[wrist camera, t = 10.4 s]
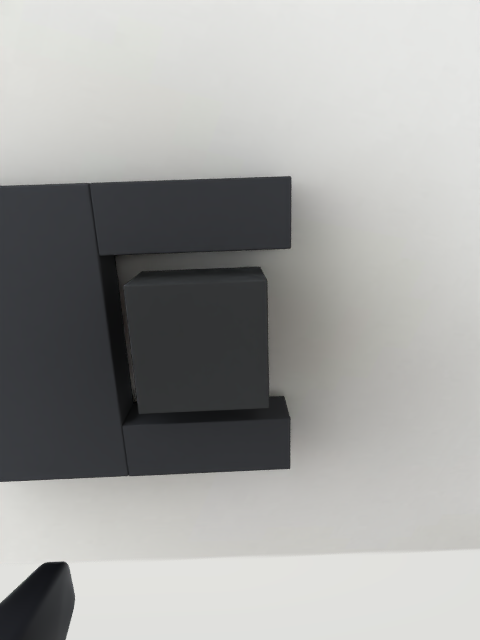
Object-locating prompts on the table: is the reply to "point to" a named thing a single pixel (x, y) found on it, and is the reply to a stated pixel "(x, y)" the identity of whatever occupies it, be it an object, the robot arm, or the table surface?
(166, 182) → the dark gray pronged block
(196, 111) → the table surface
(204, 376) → the black block
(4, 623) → the robot arm
